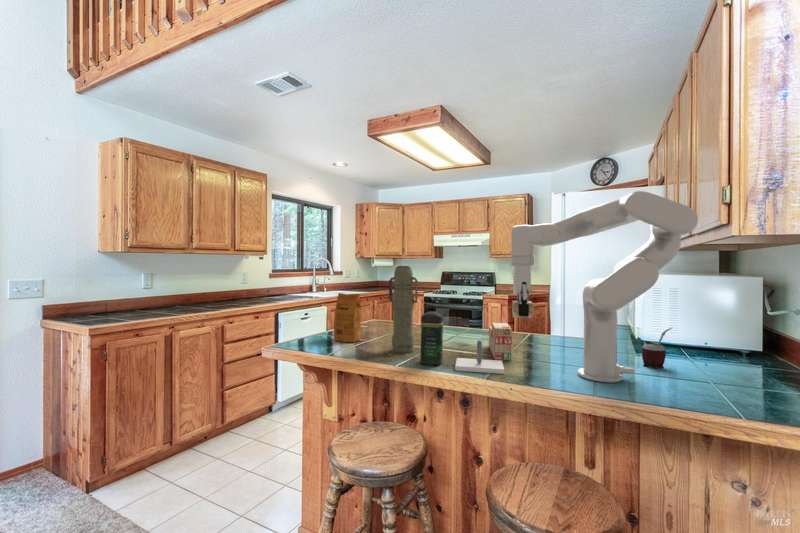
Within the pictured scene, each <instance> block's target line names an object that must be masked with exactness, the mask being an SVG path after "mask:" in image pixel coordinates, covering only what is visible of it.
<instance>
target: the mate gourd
mask: <svg viewBox="0 0 800 533" xmlns="http://www.w3.org/2000/svg"><path fill="white" fill-rule="evenodd" d="M672 329H673V327H670V328H668V329H666V330H664V331H663V332H662V333H661V336H660V338H659V340H658V342H657V343H654V342H653V343H651V342H646V343H644V344H643V346H642V349H641V356H642V358H641V359H642V362H643V364H642V366H643V367H646V368H648V367H649V368H653V369H654V370H658V368H660V369H664V368H665V366H664V364H665V360H666V356H667V353H666V348H665V347H664V345H663V344H661V342H662V340H663V338H664V337H665V335H666V333H667V332H669V331H670V330H672Z"/></svg>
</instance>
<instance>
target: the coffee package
mask: <svg viewBox="0 0 800 533" xmlns="http://www.w3.org/2000/svg"><path fill="white" fill-rule="evenodd" d="M360 296H361V295H360V293H349V294H347V293H340V292H338V294H337V297H336V298H337V299H336V304H335V308H334V309H335V310H334V318H333V320H334V321H333V342H341V343H344V342H353V343H356V342H357V341H359V340H361V338H362V331H361V330H362V329H361V325H362V306H361V301H360Z"/></svg>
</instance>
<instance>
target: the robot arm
mask: <svg viewBox="0 0 800 533" xmlns="http://www.w3.org/2000/svg"><path fill="white" fill-rule="evenodd" d="M637 221H641V222H643V223H645V224H648V225H650V237H649V239H648V241H647V242H646V243H644V244H643V245H641V247H640V248H638V249H636V251H634V252H633V253H631V254H630V255H629V256H627V257H625V258H624V259H622V260H621V261H619V262H618V263H617V264H616V265H615V266H614V268H613V272H612V273H611V274H609V276H607V277H605V278H595V279H593V280H590V281H588V282H587V284H586V285H585V286H584V288H583V291H582V303H583V304H582V305H583V306H582V307H583V354H582V355H583V356H582V359H583V360H582V361H583V362H582V363H583V364H582V367H581V368H579V369H578V371H577V375H578V376H579V377H581V378H583V379H586V380H589V381H593V382H600V383H619V382H622V381H623V376H622V375H624V374H627V375H634V374H635V369H634V368H633V367H627V366H625V365H624V366H622V365H619V364H618V363H617V361H618V360H617V359H618V313H617V312H618V311H619V310H621V309H622V308H623V307H624V308H625V307H626V306H627V305H629V304H630V303H631V302H632V301H634V300H636V299H637V298H639V297H640V296H642V295H643V294H644V293H646V292H648V291H649V290H651V288H652V287H654V286H655V284H656V283H657V282H658V279H659V277H660V271H661V270H662V269H663V268H664V267H665V266H667V265H668V264H670V263H671V261H672V260H674V259H675V257H676V256H677V255H678V253H679V251H680V247H681V244H682V236H684V235H688V234H690V233H691V232H693V231H694V230H695V229H696V227H697V226H698V223H699V216H698V214H697V212H696V211H695V210H694V209H693V208H692V207H689V205H685V204H683V203H681V202H678V201H674V200H672V199H668V198H666V197H663V196H661V195H658V194H654V193H652V192H648V191H644V190H643V191H642V190H640V191H639V190H637V191H633V192H631V193H629V194H628V195H626V196H623V197H620V198H616V199H613V200H611V201H607V202H605V203H602V204H598V205H595V206H592V207H588V208H586V209H584V210H581V211H580V212H577V213H575V214H574V215H571V216H569V217H567V218H565V219H562V220H558V221H556V222H553V223H552V222H551V223H547V222H546V223H540V224H533V225H531V224H519V225H514V226H512V227H511V232H510V235H511V237H510V239H511V241H510V243H511V244H510V245H511V246H510V249H511V251H510V254H511V255H510V259H511V260H510V266H511V267H513V280H512V281H513V282H512V283H513V284H512V285H513V287H512V292H513V294H514V295H515V296H516V301H519V306H518V315H519V316H529V304H528V301H529V296H530V295H531V287H532V267H535V246H539V247H541V248H549V247H552V246H556V245H559V244H561V243H562V244H563V243H564V242H569V241H571V240H575V239H579V238H582V237H583V238H584V237H589V236H593V235H596V234H600V233H602V232H606V231H608V230H612V229H615V228H618V227H623V226H625V225H629V224H631V223H634V222H637Z"/></svg>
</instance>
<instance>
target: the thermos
mask: <svg viewBox="0 0 800 533" xmlns="http://www.w3.org/2000/svg"><path fill="white" fill-rule="evenodd" d="M393 275H394V276H393V277H390V279H389V280H388V290H389V291H388V292H389V294H388V295H389V296H388V301H390V303H392V311H393V334H392V336H391V344H392V350H391V351H392V352H393V353H396V354H410V353H413V352H414V343H415V342H414V340H415V339H414V338H415V337H414V333H413V328H414V326H413V324H414V323H413V321H414V320H413V319H414V318H413V314H414V313H413V310H414V308H415V307H414V306H415V304H417V303H418V279H417V278H416V277H414V276H413V275H414V274H413V269H412V267H411V266H409V265H398V266H395V269H394V272H393ZM393 281H394V282H393ZM413 281H414V282H415V283H414V284H415V288H414V289H415V291H414V292H413V285H414V284H413ZM393 285H394V288H393ZM414 293H415V295H414Z"/></svg>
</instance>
